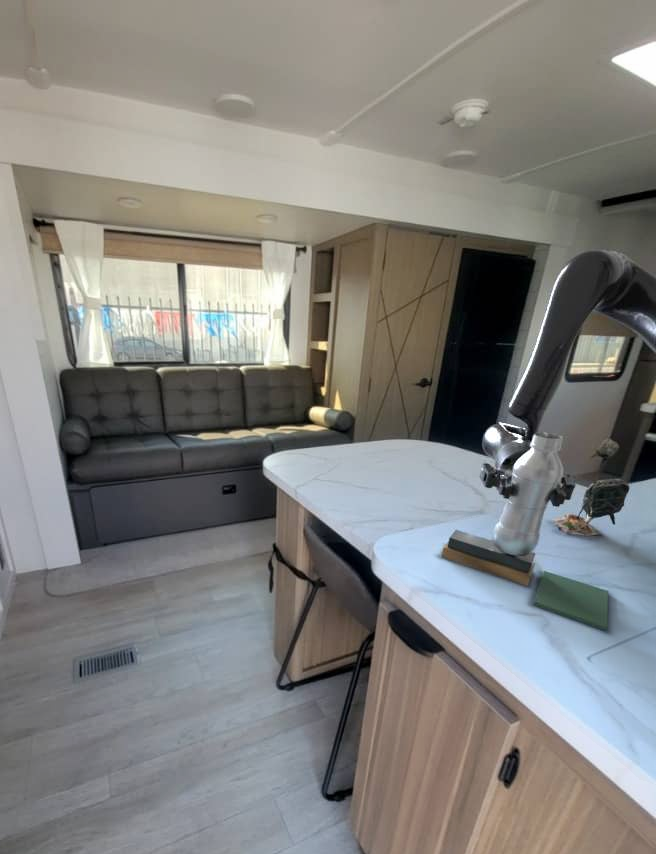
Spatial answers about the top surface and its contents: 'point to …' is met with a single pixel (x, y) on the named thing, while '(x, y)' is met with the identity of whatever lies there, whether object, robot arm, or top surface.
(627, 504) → the top surface
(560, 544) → the top surface
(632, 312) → the robot arm
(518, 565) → the grey and wooden block
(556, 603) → the drying mat
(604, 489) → the plant with pod
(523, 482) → the silver metal bottle
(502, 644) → the top surface
